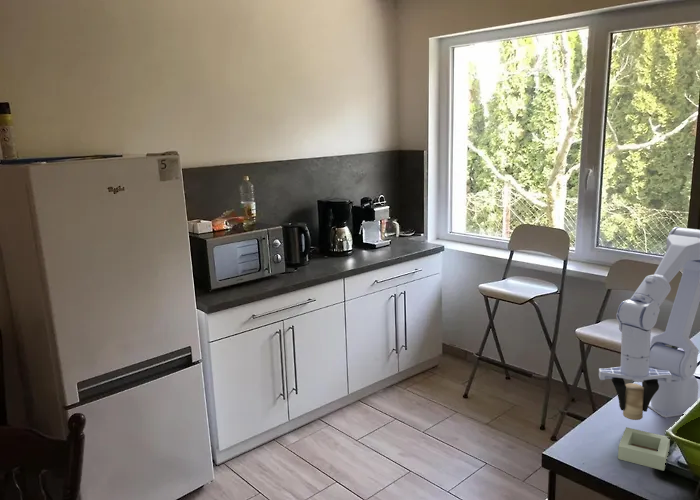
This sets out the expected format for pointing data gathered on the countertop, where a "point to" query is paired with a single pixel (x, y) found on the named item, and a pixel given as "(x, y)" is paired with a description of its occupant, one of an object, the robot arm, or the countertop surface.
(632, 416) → the peg
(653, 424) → the countertop surface
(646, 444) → the socket
